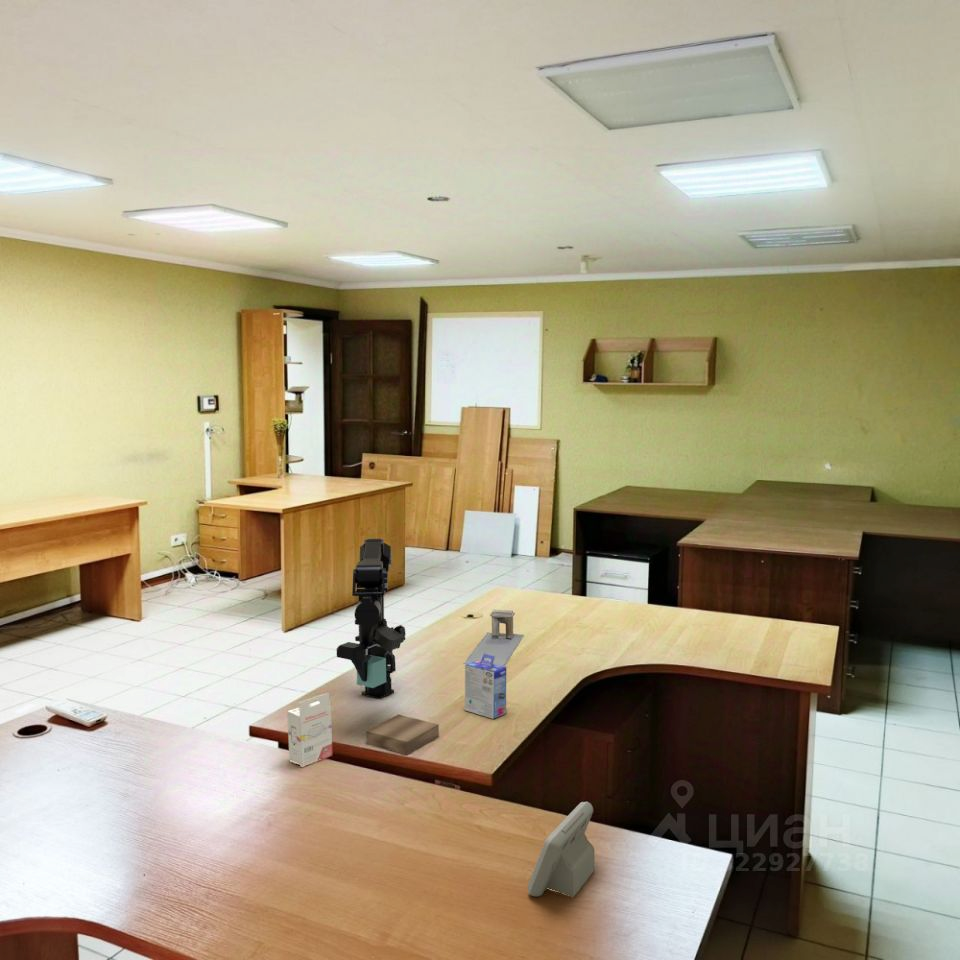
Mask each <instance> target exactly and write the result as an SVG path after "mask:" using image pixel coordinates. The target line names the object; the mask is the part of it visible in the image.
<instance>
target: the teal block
mask: <svg viewBox="0 0 960 960" xmlns="http://www.w3.org/2000/svg"><path fill="white" fill-rule="evenodd" d="M370 656H372V657H371V658H370V659H369V660H368V668H367V681H366V682H364V681H362V679H361V678H360V676H359V674H358V672H357V671H356V685H359V686H363V687H365V686H366V687H371V688H374V687H376V686H379V685H381V684H383V683H385V682H386V658H382V657H378V656H373V655H370Z"/></svg>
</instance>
